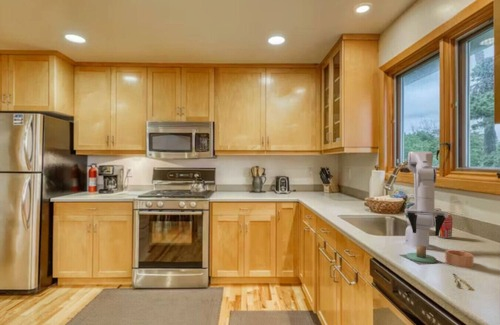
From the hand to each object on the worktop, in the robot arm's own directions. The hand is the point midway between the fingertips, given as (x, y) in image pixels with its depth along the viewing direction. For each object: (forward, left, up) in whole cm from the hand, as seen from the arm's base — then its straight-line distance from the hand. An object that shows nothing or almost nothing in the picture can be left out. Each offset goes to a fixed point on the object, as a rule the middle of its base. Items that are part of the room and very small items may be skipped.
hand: (425, 234), depth 114 cm
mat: (-1, -1, -10) cm, 10 cm away
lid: (-1, -1, -10) cm, 10 cm away
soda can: (-31, +37, -10) cm, 50 cm away
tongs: (+19, -4, -11) cm, 22 cm away
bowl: (+5, +10, -10) cm, 15 cm away
